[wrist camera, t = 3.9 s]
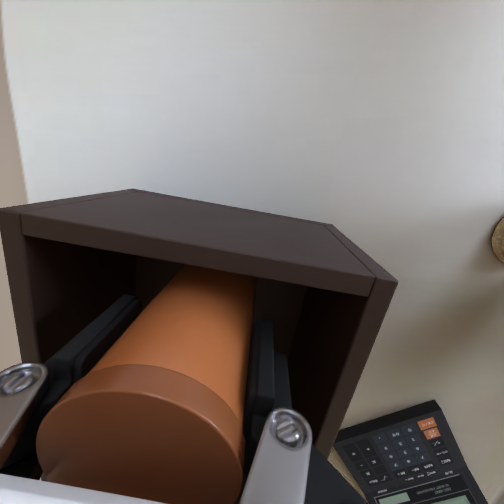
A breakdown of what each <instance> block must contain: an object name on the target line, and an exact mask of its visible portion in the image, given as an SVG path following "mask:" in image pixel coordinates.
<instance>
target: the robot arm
mask: <svg viewBox="0 0 504 504" xmlns="http://www.w3.org/2000/svg"><path fill="white" fill-rule="evenodd" d="M141 312H142V301H141V300H139V298H138V296H133V295H127V294H124V295H122V296H121V297H120V298H119V299H118V300H117V301H116V302H114V303H113V304H112V305H111V306H110V307H109V308H108V309H106V310H105V311H104V312H103V313H102V314H101V315H100V316H99V317H97V318H96V319H95V320H94V321H92V322H91V323H90V324H89V325H87V326H86V327H85V328H84V329H83V330H82V331H81V332H79V333H78V334H77V335H76V336H75V337H74V338H73V339H71V340H70V341H69V342H68V343H67V344H66V345H64V346H63V347H62V348H61V349H60V350H59V351H58V352H56V353H55V354H54V355H53V356H52V357H51V358H50V359H48V360H47V361H46V362H45V363H44V364H43V363H40V362H25V363H20V364H17V365H14V366H11V367H9V368H7V369H5V370H3V371H1V372H0V504H166V503H161V502H156V501H150V500H145V499H140V498H134V497H129V496H123V495H118V494H112V493H107V492H101V491H96V490H90V489H84V488H79V487H73V486H68V485H62V484H57V483H51V482H45V481H40V477H41V475H42V473H43V471H42V468H41V466H40V464H39V461H38V458H37V454H36V444H35V443H36V435H37V432H38V429H39V426H40V424H41V422H42V420H43V419H44V417H45V415H46V414H47V413H48V412H49V411H50V410H51V409H52V408H53V406H54V405H55V404H56V403H57V402H58V401H59V400H60V399H61V398H62V396H63V395H64V394H65V393H66V392H67V391H68V390H69V389H70V388H71V387H72V385H73V384H74V383H76V382H77V381H78V380H80V379H81V378H82V377H84V376H86V375H87V374H88V373H89V372H90V370H91V369H92V368H93V367H94V366H95V365H96V364H97V362H98V361H99V360H100V359H101V358H102V357H103V356H104V354H105V353H106V352H107V351H108V350H109V349H110V348H111V346H112V345H113V344H114V343H115V342H116V341H117V340H118V338H119V337H120V336H121V335H122V334H123V333H124V332H125V330H126V329H127V328H128V327H129V326H130V325H131V324H132V322H133V321H134V320H135V319H136V318H137V317H138V316H139V314H140V313H141ZM243 434H244V438H245V461H244V474H243V475H244V476H245V478H246V479H247V481H246V484H245V488H244V491H243V494H242V497H241V500H240V503H239V504H368V503H367V502H366V501H365V500H364V498H363V497H362V496H361V495H360V494H359V493H358V492H357V491H356V490H355V489H354V488H353V487H352V486H351V485H350V484H349V483H348V481H347V480H346V479H345V478H344V477H343V476H342V475H341V474H340V473H339V472H338V471H337V470H336V469H335V468H334V467H333V466H332V464H331V463H330V462H329V461H328V460H327V459H326V458H325V457H324V456H323V455H322V454H321V453H320V452H319V451H318V450H317V449H316V447H315V446H314V445H313V444H312V431H311V428H310V425H309V423H308V422H307V420H306V418H305V417H304V416H303V415H302V414H301V413H300V412H298V411H296V410H295V409H292V403H291V393H290V384H289V374H288V364H287V356H286V354H284V353H278V352H274V349H273V322H272V320H266V319H260V322H259V321H255V324H254V329H253V334H252V339H251V350H250V361H249V372H248V383H247V394H246V405H245V415H244V429H243Z"/></svg>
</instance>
